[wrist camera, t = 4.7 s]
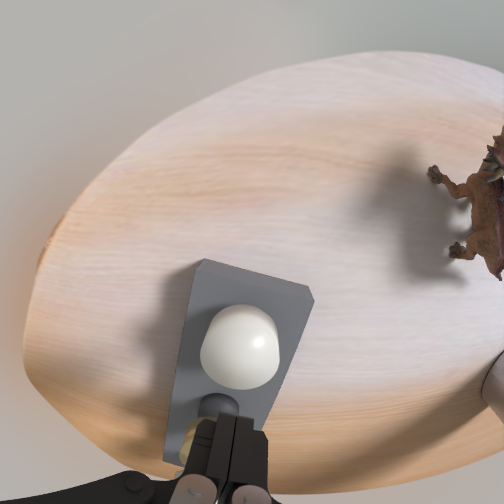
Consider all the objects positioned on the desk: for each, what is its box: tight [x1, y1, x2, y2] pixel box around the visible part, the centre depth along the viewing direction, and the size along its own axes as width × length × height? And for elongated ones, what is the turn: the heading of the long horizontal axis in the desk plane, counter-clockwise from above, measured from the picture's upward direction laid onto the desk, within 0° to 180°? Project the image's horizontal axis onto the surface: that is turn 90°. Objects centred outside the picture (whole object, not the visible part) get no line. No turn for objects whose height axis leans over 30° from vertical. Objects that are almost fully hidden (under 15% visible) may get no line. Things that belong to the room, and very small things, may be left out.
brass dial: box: [179, 417, 217, 466], centre depth 17 cm, size 4×4×3 cm
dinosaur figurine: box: [428, 126, 504, 281], centre depth 15 cm, size 14×6×9 cm, turn 19°
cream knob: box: [200, 304, 280, 390], centre depth 17 cm, size 4×4×3 cm
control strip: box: [163, 259, 314, 467], centre depth 22 cm, size 22×8×4 cm, turn 165°
